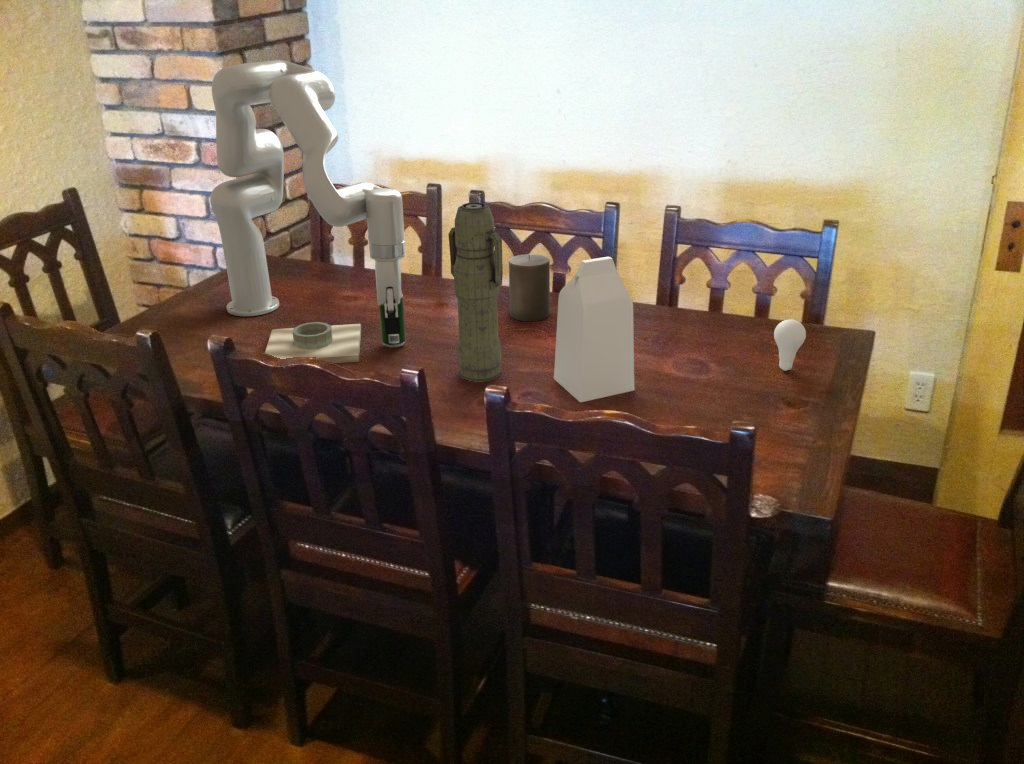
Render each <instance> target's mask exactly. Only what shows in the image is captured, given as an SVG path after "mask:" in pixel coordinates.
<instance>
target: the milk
mask: <svg viewBox="0 0 1024 764" xmlns="http://www.w3.org/2000/svg"><path fill="white" fill-rule="evenodd" d="M557 299H558V302H557V315H556V316H557V319H556V320H557V321H556V335H555V351H554V352H555V355H554V371H553V372H554V373H553V380H554V381H556V383H558V384H559V385H560V386H561V387H562V388H563V389H565V391H567V392H568V393H569V394H570V395H571V396H572V397H573V398H574V399H576V400H577V401H578V402H579V403H584V402H588V401H593V400H598V399H602V398H605V397H611V396H615V395H619V394H624V393H628V392H634V391H635V344H634V342H635V341H634V339H635V338H634V333H635V331H634V303H633V299H632V297H631V295H630V292H629V290H628V288H627V287H626V285H625V283H624V282H623V280H622V278H621V276H620V274H619V273H618V271H617V267H616V265H615V262H614V259H613V258H612V257H611V256H604V257H596V258H590V259H583V260H581V261H580V263H579V265H578V267H577V270H576V272H575V274H574V276H573V277H572V278H571V279H570V280H569V281H568V282H567V283H566V284H565V285H564V286H563V287H562V288H561V289H560V291H559V294H558V298H557Z"/></svg>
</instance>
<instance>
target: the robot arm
mask: <svg viewBox="0 0 1024 764" xmlns="http://www.w3.org/2000/svg"><path fill="white" fill-rule="evenodd" d="M211 96H212V101H213V105H214V111H215V134H216V135H215V138H216V141H215V142H216V145H215V146H216V162H217V166H218V168H219V169H218V170H219V171H220V172H221V173H222V174H223V175H224V176H226V177H229V178H234V179H230V180H226V181H223V182H221V183H219V184H218V185H216V186H215V187H214V188H213V189H212V191H211V194H210V197H209V201H210V205H211V209H212V211H213V214H214V217H215V220H216V223H217V225H218V226H217V227H218V230H219V234H220V238H221V245H222V250H223V254H224V261H225V266H226V272H227V273H226V274H227V277H228V284H229V291H230V296H231V301H229V302H228V303H227V305H226V311H227V313H229V314H230V315H233V316H238V317H254V316H255V317H256V316H257V317H258V316H261V315H266V314H269V313H271V312H273V311H275V310H277V309H278V308H279V307H280V301H279V298H278V297H276V296H273V295H272V289H271V282H270V275H269V270H268V269H269V267H268V261H267V254H266V249H265V248H266V247H265V244H264V243H265V242H264V236H263V234H262V232H261V231H260V229H259V228H258V226H257V225H256V224H255V223H254V221H253V219H254V218H257V217H259V216H263V215H266V214H269V213H272V212H275V211H277V210H278V208H280V206H281V205H282V202H283V198H284V182H285V181H284V177H285V176H284V175H285V173H284V172H285V169H284V168H285V153H284V152H285V151H284V148H283V145H282V142H281V140H280V139H279V137H278V136H277V134H275V132H273V131H271V130H270V129H266V128H257V119H256V115H255V113H254V110H253V108H252V106H255V105H260V104H269V103H271V105H272V106H273V108H274V110H275V111H276V112H277V114H278V115H279V118H280V119H281V121H282V123H283V125H284V126H285V127H286V129H287V130H288V132H289V134H290V135H291V137H292V139H293V140H294V142H295V143H296V145H297V147H298V148H299V150H300V151H301V153H302V156H303V160H302V166H301V167H302V168H301V169H302V179H303V186H304V189H305V191H306V195H307V196H308V198H309V199H310V201H311V203H312V204H313V206H314V208H315V209H316V212H318V213H319V215H320V216H321V218H322V219H323V220H324V221H325V222H326V223H327V224H329V225H330V226H332V227H336V228H340V227H341V228H342V227H346V226H348V225H352V224H355V223H357V222H361V221H364V220H366V225H367V236H368V248H369V257H370V259H371V260H374V268H375V269H374V271H375V281H376V282H375V285H376V286H375V287H376V298H377V300H376V301H377V305H378V306H379V305H381V304H384V306H385V317H384V320H385V333H386V334H387V335H389V334H400V319H399V316H398V306H397V305H398V304H399V303H400V298H401V291H402V270H401V269H402V268H401V259H403V258H405V257H406V255H407V254H406V240H405V239H406V238H405V237H406V236H405V225H404V224H405V222H404V207H403V206H404V205H403V196H402V193H401V192H400V191H399V190H397V189H394V188H383V187H381V186H378V185H377V184H374V183H372V182H368V181H361V182H357V183H354V184H351V185H349V184H348V185H346V186H342V187H339V188H336V187H335V186H334V184H333V183H332V181H331V179H330V177H329V175H328V173H327V170H326V166H325V158H326V155H327V154H328V153H329V152H330V151H331V150H333V148H334V147H335V146H336V145H337V143H338V141H339V133H338V131H337V129H335V127H334V125H333V124H332V122H331V120H330V119H329V117H328V116H327V114H326V112H325V111H328V110H330V109H331V108H332V107H333V105H334V104H335V101H336V100H335V99H336V93H335V88H334V85H333V84H332V82H331V81H330V80H329V78H328V77H327V76H326V75H325V74H323V72H320V71H318V70H315V69H313V68H310V67H306V66H303V65H300V64H298V63H295V62H292V61H288V60H283V59H275V60H274V59H273V60H265V61H257V62H256V61H255V62H254V61H253V62H245V63H241V64H240V63H239V64H238V63H237V64H233V65H229V66H226V67H222V68H221V69H219V70H218V71H217V72H216V73H215V74H214V76H213V78H212V82H211ZM393 300H395V302H396V303H393ZM386 301H388V303H386ZM397 303H398V304H397ZM387 306H388V309H387ZM394 306H395V308H394ZM395 313H396V314H395Z"/></svg>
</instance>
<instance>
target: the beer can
mask: <svg viewBox="0 0 1024 764" xmlns="http://www.w3.org/2000/svg"><path fill="white" fill-rule="evenodd" d="M386 303H388V301H386ZM393 303H396V302H395V300H393ZM397 304H398V303H397ZM404 305H405V303H404V294H403V291H402V290H401V298H400V303H399V304H398V305H397V306H398V316H399V319H400V334H389V335H387V334H386V333H385V320H384V317H385V306H384V304H381V305H378V311H379V322H380V324H379V325H380V326H379V327H380V337H381V343H382V345H383V346H385V347H387V348H399V347H401V346H403V345H405V344H406V341H407V335H406V319H405V306H404ZM394 308H395V306H394ZM387 309H388V306H387ZM395 314H396V313H395Z"/></svg>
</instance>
